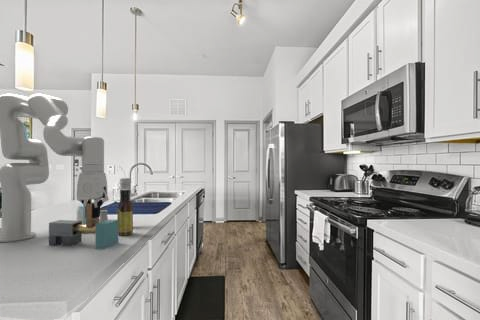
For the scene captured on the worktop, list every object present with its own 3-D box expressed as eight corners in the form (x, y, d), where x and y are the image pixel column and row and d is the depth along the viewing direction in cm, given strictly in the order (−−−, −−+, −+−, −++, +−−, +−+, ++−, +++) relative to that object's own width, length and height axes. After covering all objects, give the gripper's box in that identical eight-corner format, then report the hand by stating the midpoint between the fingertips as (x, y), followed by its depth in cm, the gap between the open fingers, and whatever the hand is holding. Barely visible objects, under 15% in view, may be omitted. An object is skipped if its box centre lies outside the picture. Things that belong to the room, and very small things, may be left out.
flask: (115, 231, 122) (116, 209, 122) (103, 235, 115) (103, 212, 115) (103, 230, 124) (103, 208, 125) (90, 233, 118) (90, 211, 118)
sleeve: (47, 245, 100) (47, 223, 101) (60, 241, 106) (60, 219, 106) (70, 246, 99) (71, 223, 99) (82, 242, 105) (82, 220, 105)
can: (77, 230, 124) (77, 204, 124) (94, 228, 127) (94, 203, 127) (75, 233, 118) (75, 206, 118) (93, 232, 121) (93, 205, 121)
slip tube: (62, 233, 101) (63, 203, 101) (71, 231, 105) (71, 201, 105) (100, 235, 98) (101, 203, 98) (107, 232, 102) (108, 202, 102)
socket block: (95, 248, 96) (95, 223, 96) (109, 242, 104) (109, 219, 104) (104, 249, 95) (105, 224, 96) (118, 242, 103) (118, 219, 104)
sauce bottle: (120, 232, 119) (120, 188, 119) (134, 232, 120) (134, 188, 120) (114, 236, 112) (115, 190, 113) (129, 236, 113) (130, 189, 113)
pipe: (126, 229, 126) (126, 166, 126) (115, 228, 127) (115, 166, 128) (133, 226, 131) (133, 166, 132) (122, 226, 132) (122, 166, 133)
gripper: (66, 169, 99) (66, 218, 98) (105, 169, 96) (105, 219, 96) (81, 169, 106) (81, 215, 106) (118, 169, 104) (118, 216, 103)
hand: (92, 216), depth 101 cm, fingers closed on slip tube, 2 cm apart
